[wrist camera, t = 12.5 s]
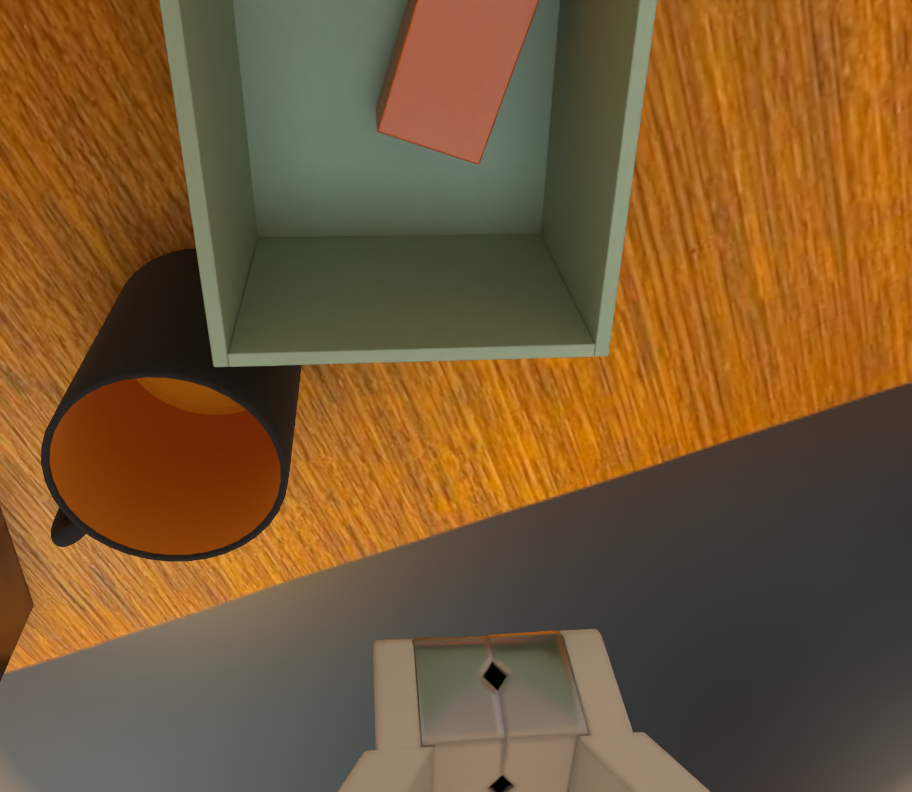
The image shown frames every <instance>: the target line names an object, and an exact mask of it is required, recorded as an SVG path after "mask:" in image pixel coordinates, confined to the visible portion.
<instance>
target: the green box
mask: <svg viewBox="0 0 912 792" xmlns="http://www.w3.org/2000/svg"><path fill="white" fill-rule="evenodd" d="M159 2H160V9H161V16H162V23H163V29H164V36H165V43H166V50H167V56H168V63H169V70H170V77H171V83H172V90H173V97H174V104H175V110H176V117H177V124H178V131H179V137H180V144H181V151H182V158H183V164H184V171H185V178H186V185H187V192H188V198H189V205H190V212H191V219H192V225H193V232H194V239H195V246H196V252H197V259H198V266H199V273H200V279H201V286H202V293H203V300H204V306H205V313H206V320H207V327H208V333H209V340H210V347H211V354H212V360H213V366H214V367H228V366H230V367H243V366H279V365H315V364H350V363H386V362H422V361H457V360H493V359H529V358H564V357H593V356H608V353H609V346H610V339H611V331H612V324H613V317H614V310H615V302H616V295H617V288H618V280H619V273H620V266H621V259H622V251H623V244H624V237H625V230H626V222H627V215H628V208H629V201H630V193H631V186H632V179H633V171H634V164H635V157H636V150H637V142H638V135H639V128H640V121H641V113H642V106H643V99H644V92H645V84H646V77H647V70H648V63H649V55H650V48H651V41H652V33H653V26H654V19H655V12H656V4H657V0H540V1H539V3H538V6H537V9H536V11H535V14H534V17H533V20H532V22H531V25H530V28H529V30H528V33H527V36H526V39H525V41H524V44H523V47H522V49H521V52H520V55H519V58H518V60H517V63H516V66H515V69H514V71H513V74H512V77H511V79H510V82H509V85H508V88H507V90H506V93H505V96H504V98H503V101H502V104H501V107H500V109H499V112H498V115H497V117H496V120H495V123H494V126H493V128H492V131H491V134H490V136H489V139H488V142H487V145H486V147H485V150H484V153H483V156H482V158H481V161H480V163H479V164H478V165H477V164H474V163H471V162H467V161H464V160H461V159H458V158H455V157H452V156H449V155H446V154H443V153H440V152H437V151H434V150H431V149H428V148H425V147H422V146H419V145H416V144H413V143H410V142H406V141H403V140H400V139H397V138H394V137H391V136H388V135H385V134H382V133H379V132H378V131H377V122H376V107H377V104H378V100H379V97H380V94H381V90H382V87H383V84H384V80H385V77H386V74H387V70H388V67H389V63H390V60H391V57H392V53H393V50H394V47H395V43H396V40H397V36H398V33H399V30H400V26H401V23H402V20H403V16H404V13H405V9H406V6H407V3H408V0H159Z"/></svg>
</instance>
